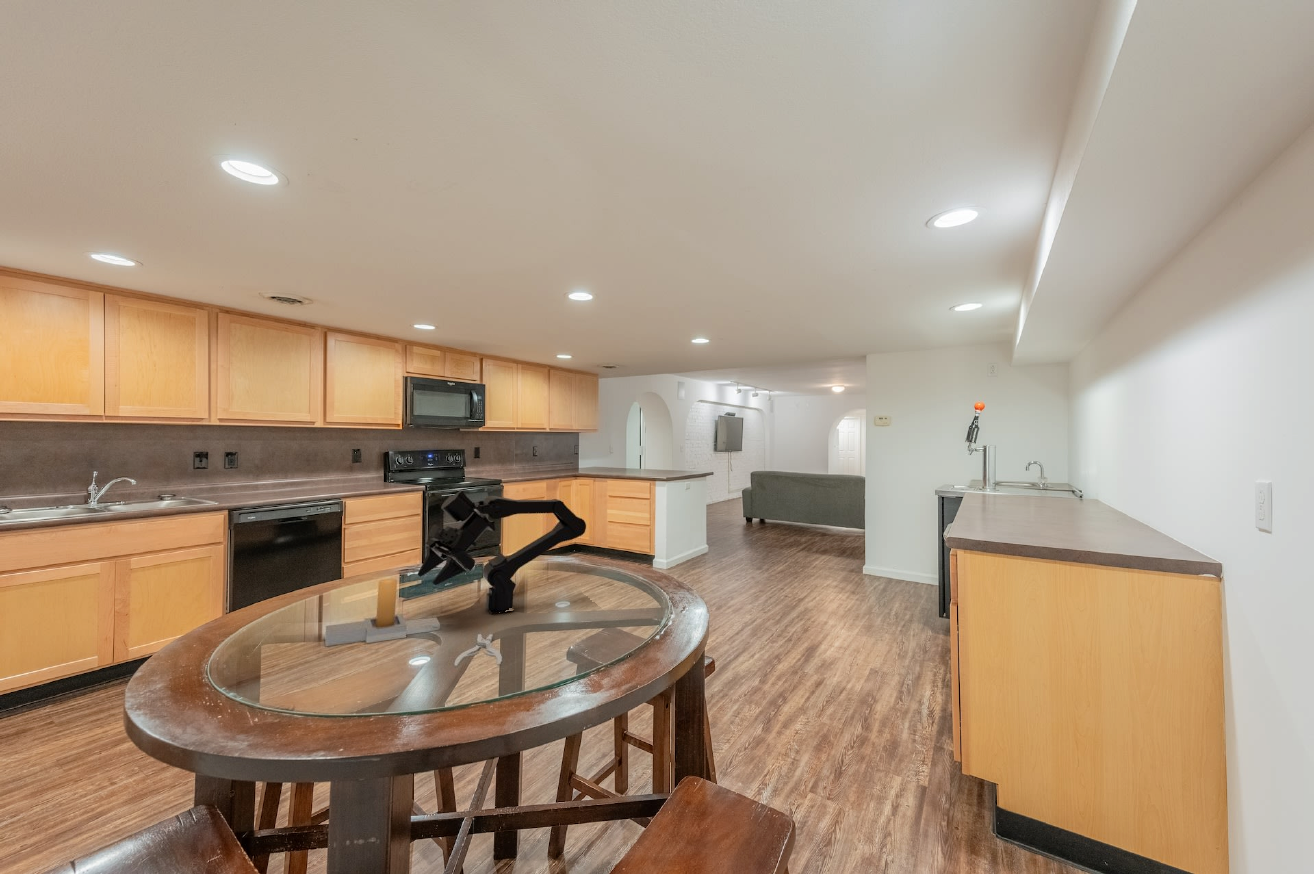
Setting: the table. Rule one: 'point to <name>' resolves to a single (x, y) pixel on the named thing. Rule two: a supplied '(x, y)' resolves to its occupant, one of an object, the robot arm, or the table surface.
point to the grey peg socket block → (377, 630)
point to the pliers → (481, 644)
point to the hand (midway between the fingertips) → (426, 579)
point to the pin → (386, 602)
